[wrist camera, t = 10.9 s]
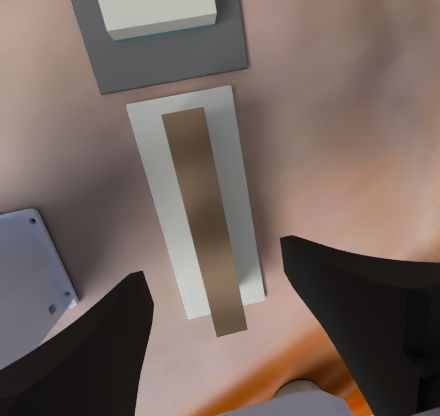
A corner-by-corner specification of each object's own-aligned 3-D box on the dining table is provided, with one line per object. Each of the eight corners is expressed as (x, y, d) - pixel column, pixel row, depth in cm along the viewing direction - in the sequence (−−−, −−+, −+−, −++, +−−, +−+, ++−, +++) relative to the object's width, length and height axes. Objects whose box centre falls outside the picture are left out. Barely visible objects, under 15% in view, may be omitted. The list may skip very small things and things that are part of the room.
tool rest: (263, 297, 23) (265, 300, 23) (188, 316, 22) (188, 319, 22) (230, 86, 17) (231, 84, 17) (127, 105, 17) (125, 104, 16)
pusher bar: (235, 289, 22) (247, 329, 17) (211, 295, 22) (217, 337, 17) (200, 117, 17) (203, 106, 12) (169, 123, 17) (161, 114, 12)
